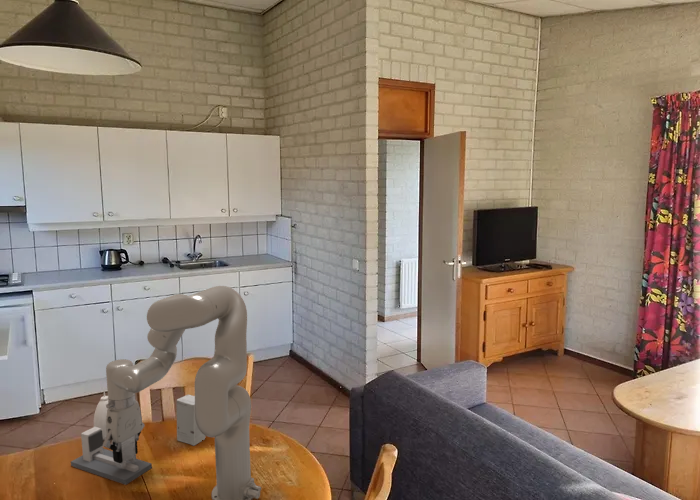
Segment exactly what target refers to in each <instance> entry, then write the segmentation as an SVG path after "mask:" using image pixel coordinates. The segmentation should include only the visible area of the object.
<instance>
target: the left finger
mask: <svg viewBox="0 0 700 500" xmlns="http://www.w3.org/2000/svg"><path fill="white" fill-rule="evenodd" d="M116 445H117V443H116V444H115V446H116ZM120 450H122V458H123V462H122V463H118V462H116V467H117V468H120V469H125V468H126V464H125V462H127V461H129V462H132V463H134V462H136V459H137V454H136V452H135V435H134V436H132V437H131V438H129V439H127V440H125V441H123V442H121V447H120Z"/></svg>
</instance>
